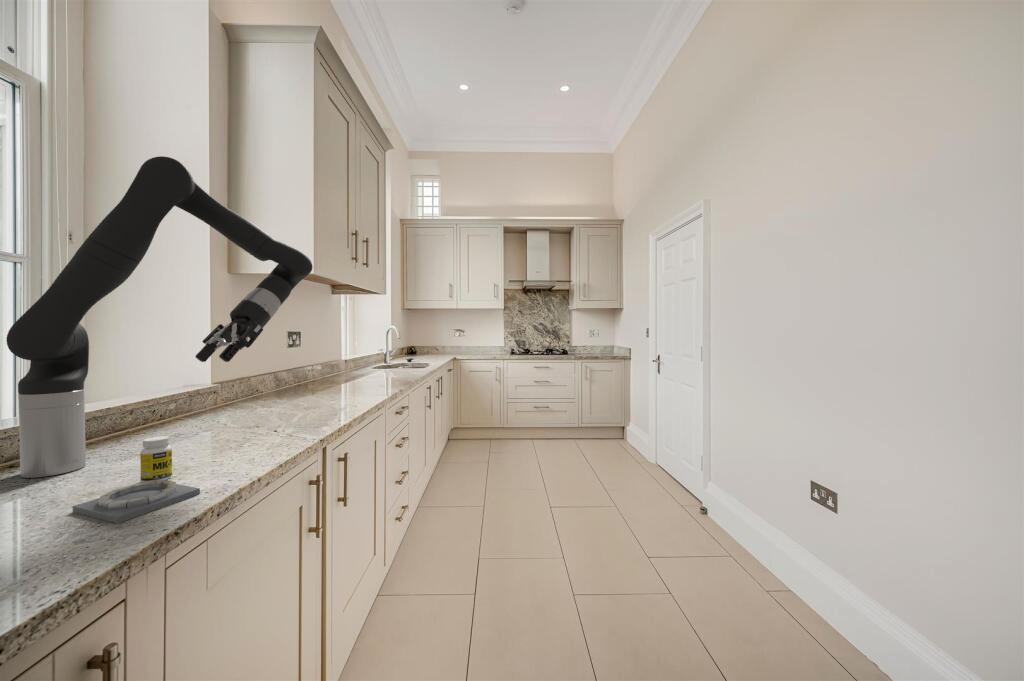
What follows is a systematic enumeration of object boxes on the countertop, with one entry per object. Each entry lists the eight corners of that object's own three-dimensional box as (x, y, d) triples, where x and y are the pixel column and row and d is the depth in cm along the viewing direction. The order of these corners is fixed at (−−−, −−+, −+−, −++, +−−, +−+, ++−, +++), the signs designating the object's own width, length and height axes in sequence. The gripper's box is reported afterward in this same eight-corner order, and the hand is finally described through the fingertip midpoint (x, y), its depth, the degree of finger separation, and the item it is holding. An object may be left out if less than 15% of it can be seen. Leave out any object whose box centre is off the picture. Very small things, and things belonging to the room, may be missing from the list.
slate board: (72, 512, 65) (72, 506, 65) (158, 485, 77) (157, 480, 77) (116, 523, 61) (116, 517, 61) (199, 493, 73) (199, 488, 73)
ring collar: (85, 504, 66) (85, 498, 66) (154, 483, 75) (154, 478, 75) (121, 513, 63) (121, 506, 63) (189, 489, 72) (189, 484, 72)
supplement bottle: (153, 484, 77) (152, 442, 77) (134, 483, 78) (133, 441, 78) (178, 476, 82) (177, 436, 82) (160, 474, 83) (159, 434, 82)
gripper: (226, 300, 99) (177, 349, 89) (265, 296, 94) (217, 348, 84) (248, 321, 104) (205, 369, 94) (286, 318, 99) (244, 370, 89)
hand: (211, 359), depth 89 cm, fingers open, 8 cm apart
